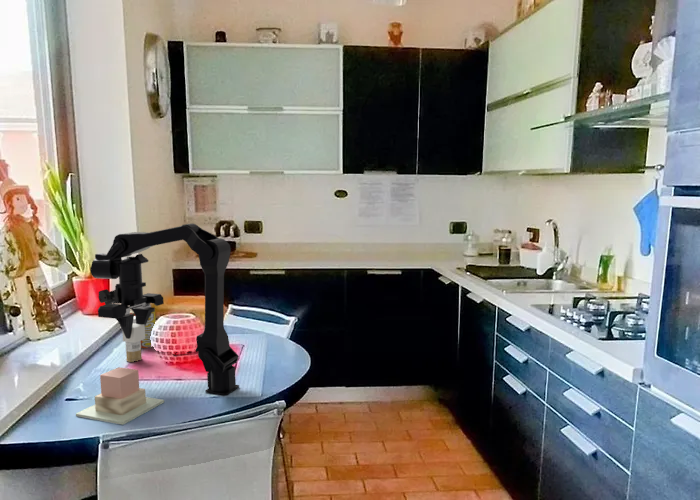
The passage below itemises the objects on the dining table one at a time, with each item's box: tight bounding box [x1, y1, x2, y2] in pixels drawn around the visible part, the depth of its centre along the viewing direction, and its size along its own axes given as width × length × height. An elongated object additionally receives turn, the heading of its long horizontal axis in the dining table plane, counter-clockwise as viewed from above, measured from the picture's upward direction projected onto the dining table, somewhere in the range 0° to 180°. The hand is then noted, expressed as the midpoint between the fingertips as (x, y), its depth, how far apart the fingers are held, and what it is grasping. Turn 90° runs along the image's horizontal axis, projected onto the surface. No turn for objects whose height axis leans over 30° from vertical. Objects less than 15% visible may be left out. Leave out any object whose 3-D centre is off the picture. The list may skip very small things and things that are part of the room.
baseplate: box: [75, 396, 165, 426], centre depth 136 cm, size 14×14×1 cm
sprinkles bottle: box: [125, 316, 143, 363], centre depth 172 cm, size 5×5×13 cm
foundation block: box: [94, 387, 147, 415], centre depth 136 cm, size 8×8×4 cm
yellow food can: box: [130, 309, 157, 350], centre depth 189 cm, size 9×9×12 cm
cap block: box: [121, 323, 145, 343], centre depth 153 cm, size 4×4×4 cm
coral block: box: [99, 366, 140, 399], centre depth 135 cm, size 6×6×5 cm
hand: (134, 336), depth 153 cm, fingers closed on cap block, 4 cm apart
